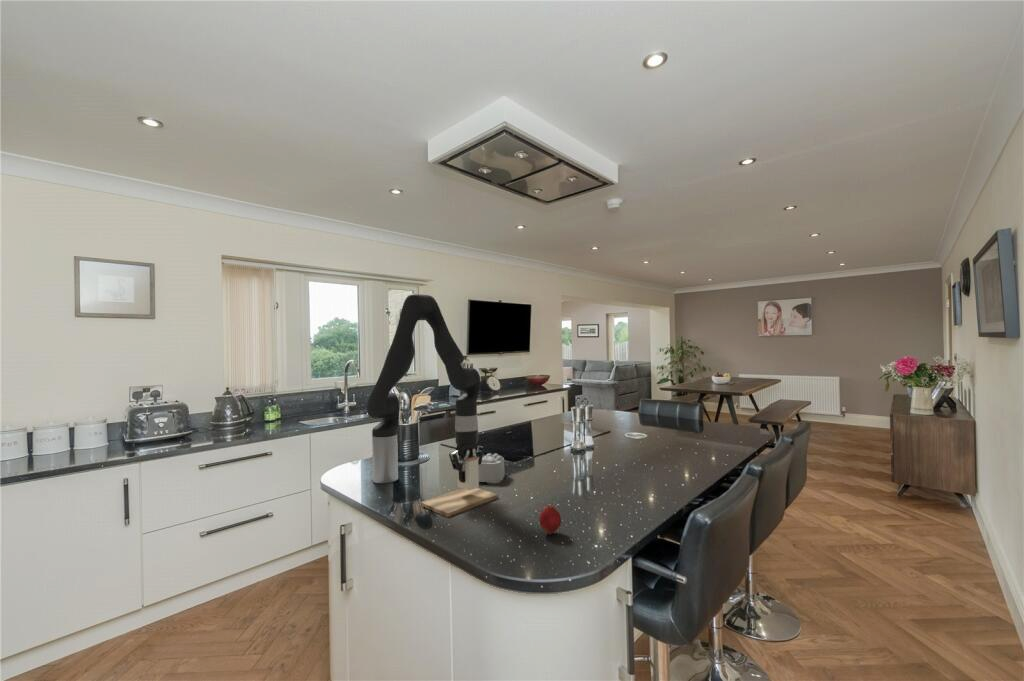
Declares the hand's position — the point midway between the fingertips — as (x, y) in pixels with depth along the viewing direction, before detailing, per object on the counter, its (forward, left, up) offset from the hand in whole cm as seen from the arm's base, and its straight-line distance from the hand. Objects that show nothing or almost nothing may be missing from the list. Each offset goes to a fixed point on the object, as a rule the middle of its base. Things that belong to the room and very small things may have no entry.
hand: (467, 480), depth 143 cm
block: (0, 0, -2) cm, 2 cm away
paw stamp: (-11, +21, -7) cm, 25 cm away
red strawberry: (+37, -3, -7) cm, 38 cm away
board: (0, -4, -6) cm, 7 cm away
